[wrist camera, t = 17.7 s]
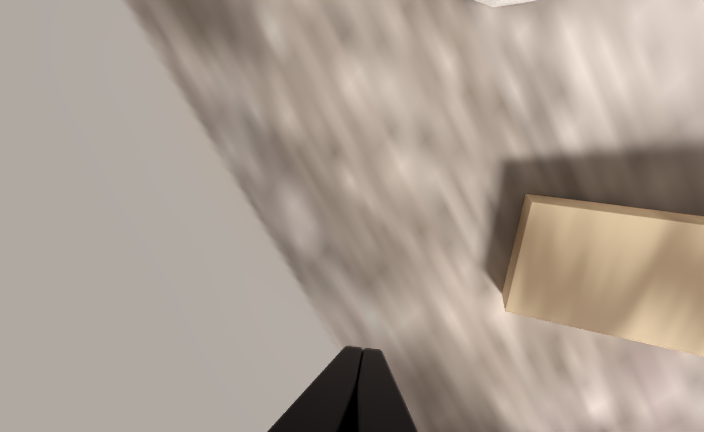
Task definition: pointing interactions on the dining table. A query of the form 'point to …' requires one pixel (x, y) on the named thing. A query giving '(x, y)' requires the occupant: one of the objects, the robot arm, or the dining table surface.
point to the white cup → (502, 2)
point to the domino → (610, 271)
